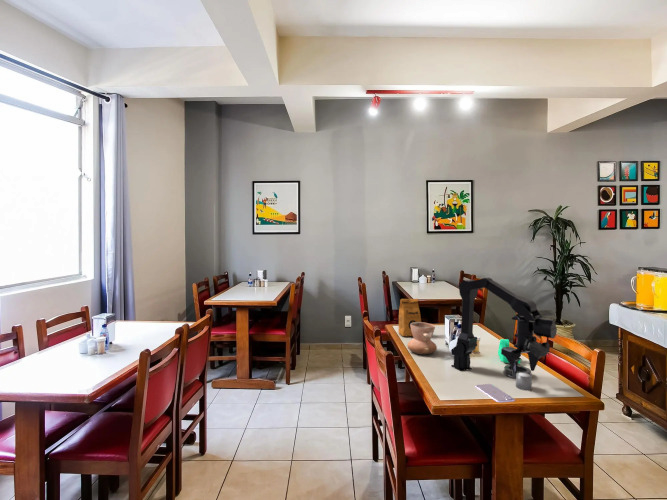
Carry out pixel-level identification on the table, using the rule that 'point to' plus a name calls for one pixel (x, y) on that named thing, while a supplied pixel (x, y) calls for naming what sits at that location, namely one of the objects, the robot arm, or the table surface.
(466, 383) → the table surface
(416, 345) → the ceramic jug
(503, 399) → the mobile phone
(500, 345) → the camera mount
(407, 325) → the coffee package
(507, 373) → the dark grey ashtray
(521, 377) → the cap
